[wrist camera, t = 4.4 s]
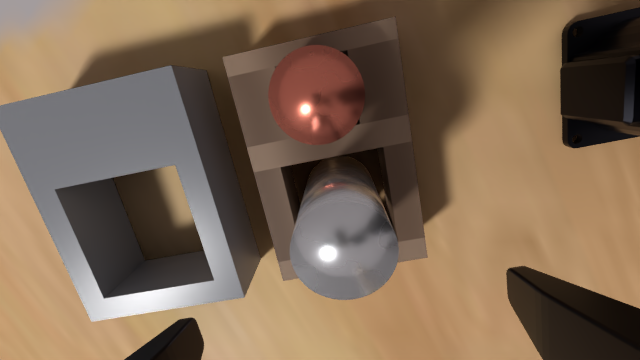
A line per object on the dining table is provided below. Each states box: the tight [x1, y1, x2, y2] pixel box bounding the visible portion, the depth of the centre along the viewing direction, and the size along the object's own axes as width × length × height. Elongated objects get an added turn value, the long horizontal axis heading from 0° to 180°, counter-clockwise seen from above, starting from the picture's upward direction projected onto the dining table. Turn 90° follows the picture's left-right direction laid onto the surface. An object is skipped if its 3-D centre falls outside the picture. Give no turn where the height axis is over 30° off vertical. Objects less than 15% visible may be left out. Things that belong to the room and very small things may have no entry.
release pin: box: [268, 45, 365, 145], centre depth 15 cm, size 4×4×4 cm
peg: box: [290, 156, 399, 300], centre depth 16 cm, size 4×4×8 cm
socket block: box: [222, 17, 428, 281], centre depth 17 cm, size 8×12×3 cm, turn 12°
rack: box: [0, 65, 261, 321], centre depth 18 cm, size 9×12×4 cm
